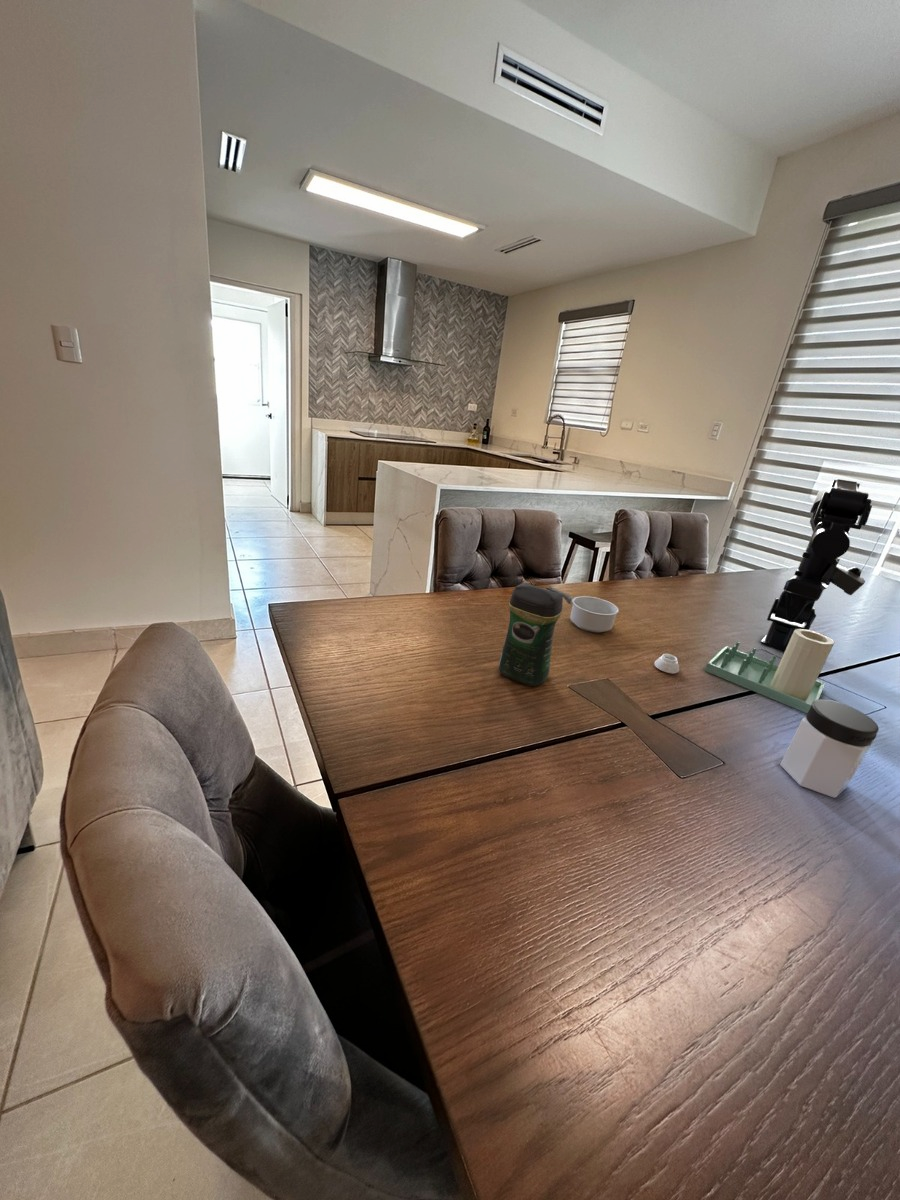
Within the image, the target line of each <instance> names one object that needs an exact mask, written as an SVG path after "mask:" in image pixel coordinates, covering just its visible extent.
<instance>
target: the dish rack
mask: <svg viewBox="0 0 900 1200" xmlns="http://www.w3.org/2000/svg"><path fill="white" fill-rule="evenodd" d="M739 646H740V642H739V641H736V643H735V645H734V644H733V646H732V647H730V646H728V645H725V646H724V647H722V649H720V651H719V652H717V654H715V656H714V657H712V658H711V659H710V660H709V661H708V662H707V664H706V667H705V669H704V671H705V672H706V673H709V674H711V675H714V676H716V677H719V678H720V679H723V680H725V681H729V682H731V683H733V684H736V685H737V686H740V687H742V688H745V689H747V690H750V691H751V692H755V693H757V694H759V695H761V696H764V697H766V698H769V699H771V700H774V701H776V702H779V703H781V704H783V705H786V706H788V707H790V708H793V709H795V710H798V711H800V712H802V713H805V714H807V713H808V711H809V709H810V707H811V705H812V703H813V702H814V701H816V700H820V698H821V695H822V693H823V691H824V688H825V685H826V683H825V682H823V681H821V680H818V679H817V680H816V682H815V684H814V686H813V688H812V690H811V692H810V694H809V696H808V698H807V699H806V700H804V701H802V700H800V699H798V698H795V697H793V696H790V695H788V694H785V693H783V692H780V691H778V690H775V689H773V688H771V682H772V679H773V677H774V675H775V673H776V670H777V668H778V666H779V664H776V663H775V661H776V659H777V655H775V654H773V656H772V658H770V660H769V661H767V660H765V659H762V658H759V657H757V656H755V654H756V651H757V648H756V647H753V648H752V651H750V652H749V653H747V652H743V651H740V650H738V648H739Z"/></svg>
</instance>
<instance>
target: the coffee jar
mask: <svg viewBox="0 0 900 1200" xmlns="http://www.w3.org/2000/svg"><path fill="white" fill-rule="evenodd" d="M563 603H564V598H563V596H562V594H560V593H556V592H552V591H549V590H547V589H546V588H543V587H539V586H536V585H532V584H530V583H527V582H523V583H520V584H518V585H516V586H515V587H514V589H513V591H512V593H511V597H510V600H509V602H508V609H509V624H508V628H507V633H506V636H505V640H504V644H503V647H502V651H501V654H500V659H499V663H498V671H499V673H500V674H502V675H503V676H505V677H507V679H510V680H513V681H515V682H517V683H520V684H523V685H526V686H529V687H534V686H540V685H542V684H543V683H544V682H546V680H548V678H549V674H550V668H551V659H552V658H551V657H552V649H553V648H552V647H553V639H554V633H555V627H556V624H557V622H558V621H559V619H560V618H561V616H562V614H563Z"/></svg>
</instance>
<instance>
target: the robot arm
mask: <svg viewBox="0 0 900 1200" xmlns="http://www.w3.org/2000/svg"><path fill="white" fill-rule="evenodd" d="M860 485H861V483H859V482H858V481H853V480H846V479H840V478H837V479H833V481H832V482H831V484H830V485H828V486H827V487H825V488H823V489H821V490H819V491H818V492H817V494H816V497H815V498H814V501H813V503H812V506H811V508H810V511H809V513H810V514H811V517H810V520H809V524H810V527H811V530H812V534H811V536H810V538H809V541H808V544H807V546H806V548H805V550H804V551H803V553H802V556H801V560H800V563H799V565H798V568H797V569H796V570H795V572H794V576H792V577H789V578H788V579H787V580H786V582H785V584H784V586H783V591H781V593H780V595H779V597H778V598H774V601H773V603H772V605H771V608H770V610H769V612H768V615H767V618H766V621H768V622H771V624H770V625H769V629H768V631H767V633H766V634H765V636H764V637H763V638H762V639H761V640H760V643H761V644H764V645H766V646H769V647H771V648H773V649H777V650H780V651H783V652H785V650H786V648H787V646H788V643H789V641H790V639H791V637H792V634H793V632H794V630H795V629H806V630H810V628H811V626H812V624H813V623H814V621H815V619H816V617H817V614H816V608H815V607H814V605H815V603H816V602H817V601H819V600H820V598H821V597H822V595H823V592H824V591H825V590H826V589H828V587H829V586H830V584H833V585H834V586H835V587H837V588H839V589H840V590H842V591H843V593H845V594H847V595H848V596H853V595H854V594H855V593H856V592H857V591H858V590H859V589H861V587H862V586H864V585H865V583H866V580H865V578H863V577H861V575H862V569H861V568H859V567H857V566H853V567H850V568H847V567H846V566H842V565H841V564H839V562H840V560H841V558H840V557H842V556H843V555H845V554H846V553H847V552H848V550H849V549H850V546H851V541H850V537H849V535H850V532H851V531H850V530H851V529H854V530H858V531H859V530H862V526H863V527H865V526H866V524H867V523H868V520H869V517H870V514H871V512H872V507H873V505H872V499H871V498H869V495H870V494H869V493H868V492H865V491H859V489H860Z"/></svg>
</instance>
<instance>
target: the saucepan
mask: <svg viewBox="0 0 900 1200" xmlns="http://www.w3.org/2000/svg"><path fill="white" fill-rule="evenodd" d="M545 589H546V590H549V591H552V592H556V593H560V594H562V596H563V600H565V601H566V603H567V604H569V605H572V607H571V611H570V616H569V619H570V621H571V622H572V623H573V624H574V625H575V626H576V627H578V628H579V629H581V630H584V631H587V632H591V633H603V632H608V631H610V630H612V629H613V627H614V623H615V620H616V616H617V614H618V613H619V610H620V609H619V607H618V606H617V605H616V604H614V603H612V602H610V601H608V600H606V599H603V598H599V597H594V596H588V595H579V596H575V597H573V596H571V595H569V594H567V593H565V592H563V591H561V590H559V589H556V588H554V587H551V586H549V585H548V586H546V587H545Z"/></svg>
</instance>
